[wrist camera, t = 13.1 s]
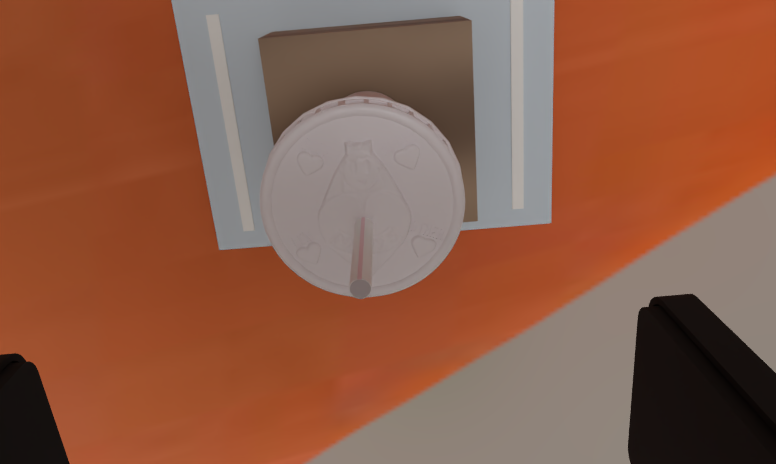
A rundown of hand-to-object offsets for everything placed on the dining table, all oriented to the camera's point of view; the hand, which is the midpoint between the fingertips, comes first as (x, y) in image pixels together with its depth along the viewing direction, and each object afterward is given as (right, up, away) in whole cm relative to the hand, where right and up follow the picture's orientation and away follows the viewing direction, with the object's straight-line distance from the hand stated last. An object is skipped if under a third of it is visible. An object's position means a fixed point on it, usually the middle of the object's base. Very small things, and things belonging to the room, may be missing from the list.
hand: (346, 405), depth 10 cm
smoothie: (0, +7, +19) cm, 20 cm away
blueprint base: (0, +9, +23) cm, 25 cm away
